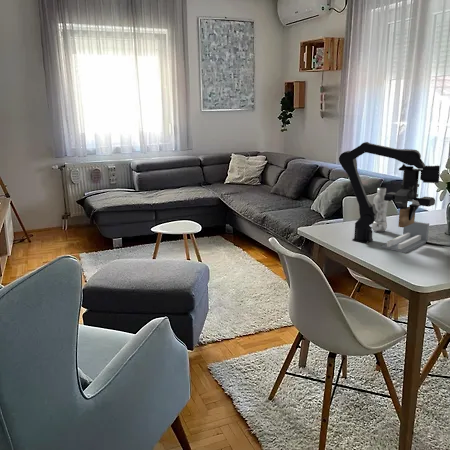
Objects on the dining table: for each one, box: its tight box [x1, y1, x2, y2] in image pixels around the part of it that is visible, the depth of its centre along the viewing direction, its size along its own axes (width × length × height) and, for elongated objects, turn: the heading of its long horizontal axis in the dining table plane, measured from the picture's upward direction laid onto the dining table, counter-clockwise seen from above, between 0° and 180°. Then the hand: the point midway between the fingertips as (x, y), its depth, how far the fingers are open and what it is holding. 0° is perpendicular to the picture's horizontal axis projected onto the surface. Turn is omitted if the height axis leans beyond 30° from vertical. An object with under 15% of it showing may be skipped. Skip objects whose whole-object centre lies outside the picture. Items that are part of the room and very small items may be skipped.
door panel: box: [398, 206, 416, 228], centre depth 179 cm, size 2×10×7 cm, turn 133°
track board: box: [381, 220, 430, 254], centre depth 182 cm, size 10×20×8 cm, turn 133°
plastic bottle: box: [371, 187, 389, 233], centre depth 201 cm, size 6×7×20 cm
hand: (406, 219), depth 180 cm, fingers closed on door panel, 2 cm apart
